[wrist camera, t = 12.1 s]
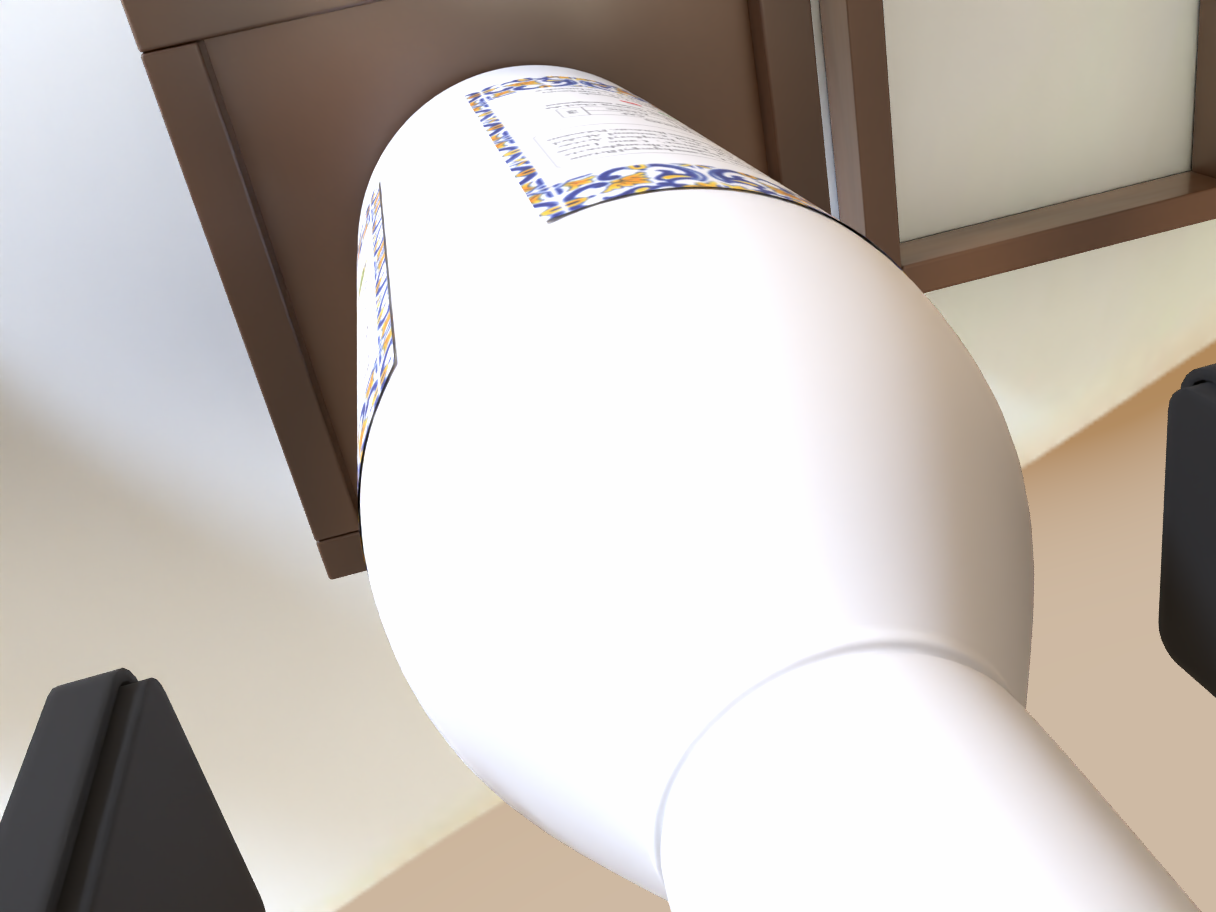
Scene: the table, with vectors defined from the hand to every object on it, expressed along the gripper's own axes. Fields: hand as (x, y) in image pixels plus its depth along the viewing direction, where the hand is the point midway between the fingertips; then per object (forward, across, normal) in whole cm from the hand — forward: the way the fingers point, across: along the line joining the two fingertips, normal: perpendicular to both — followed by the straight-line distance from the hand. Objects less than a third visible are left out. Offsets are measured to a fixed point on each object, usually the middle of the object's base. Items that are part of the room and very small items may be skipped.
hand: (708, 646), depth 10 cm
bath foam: (+14, -1, 0) cm, 15 cm away
